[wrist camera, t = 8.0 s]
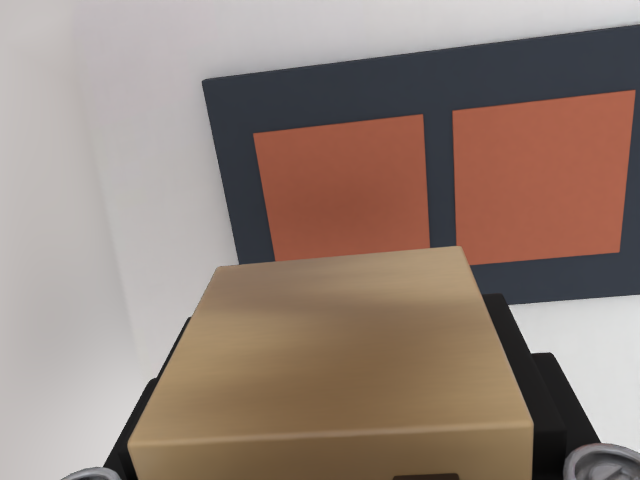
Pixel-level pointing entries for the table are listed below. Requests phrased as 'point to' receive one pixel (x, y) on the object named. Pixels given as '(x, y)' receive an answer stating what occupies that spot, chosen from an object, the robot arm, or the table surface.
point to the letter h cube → (338, 377)
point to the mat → (446, 161)
